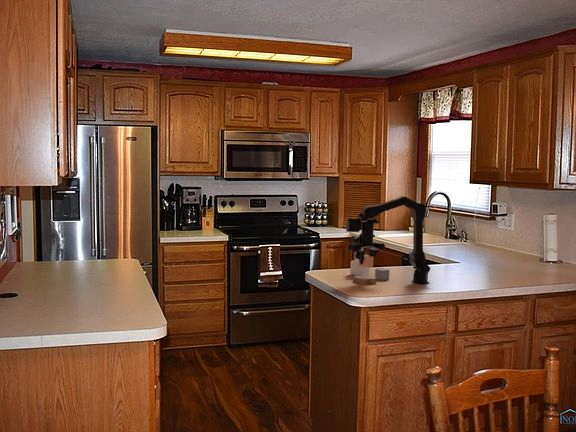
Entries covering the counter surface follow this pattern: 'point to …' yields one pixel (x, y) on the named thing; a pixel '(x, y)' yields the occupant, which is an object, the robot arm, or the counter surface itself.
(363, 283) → the walnut slab
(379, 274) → the grey cube
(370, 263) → the terracotta cube
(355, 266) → the medicine bottle
